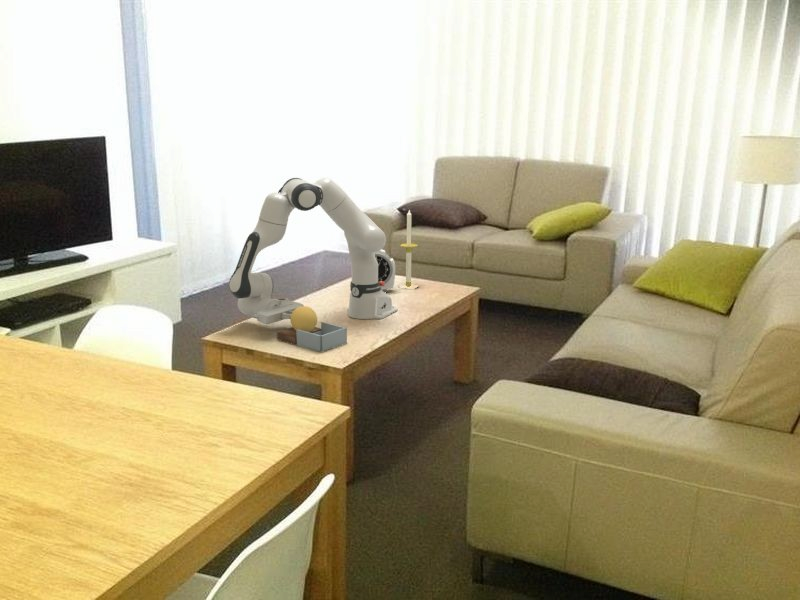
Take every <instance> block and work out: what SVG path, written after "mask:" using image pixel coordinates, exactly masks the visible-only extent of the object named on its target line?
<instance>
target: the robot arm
mask: <svg viewBox="0 0 800 600" xmlns="http://www.w3.org/2000/svg"><path fill="white" fill-rule="evenodd" d="M261 206H262V207H261V209H260V213H259V216H258V221H257V224H256V226H255V228H254V229H253V230H252V232H251V233H250V234H249V235H248V237H247V238H246V240H245V242H244V244H243V245H244V246H243V248H242V251H241V252H240V256H239V259H238V262H237V264H236V267H235V269H234V271H233V273H232V275H231V276H230V279H229V281H228V288H229V291H230V293H231V294H232V295H233V296H234V297H235V298H236V299H238V300H237V308H238V310H239V311H240V312H241V313H242V314H244V315H245V316H248V317H251V318H253V319H256V320H257V321H258V322H259V323H261V324H265V325H270V324H273V323H276V322H281V321H284V320H290V318H291V314H292V313H293V311H294V310H295V309H296V308H298V307H301V306H305V305H304V304H303V303H301V302H298V301H295V300H289V298H272V297H273V292H274V287H275V286H274V284H275V283H274V281H273V278H272V276H271V275H270V274H269V273H266V272H252V270H253V266H254V264H255V261H256V258H257V256H258V255H259V253H261V251H263V250H265V249H266V248H267V247H270V246H273V245H276V244H278V243H279V242H280V241H281V240H283V238H284V236H285V234H286V232H287V231H286V230H287V228H288V227H287V226H288V223H289V217H290V214H291V213H292V211H293V210H295V209H297V210H299V211H304V212H306V211H311V210H313V209H314V208H316V207H317V206H319V207H321V209H322V210H323V212H325V213H326V215H327V216H329V218H330V219H331V220H332V221H333V222H334V224H336V225H337V227H339V228H340V229H341V230H342V231H343V232H344V233H343V234H344V238H345V240H346V243H347V247H348V253H349V258H350V266H351V268H350V270H351V271H350V273H351V281H350V285H349V286H350V293H349V303H348V308H346V309H347V310H346V311H347V316H348V317H350V318H353V319H358V320H372V319H373V320H376V319H377V320H381V319H384V318H386V317H388V316H390V315H392V314H394V313H396V312H397V311H398V308H397V307H396V306H393V303H392V298H391V296H390V295H389V294H388V293H385V292H383V291H382V290H381V287H380V286H385V282H382V281H380V282H378V262H377V260H376V257H375V253H374V252H378V251H380V250H381V249H382V250H383V248H385V245H386V243H387V236H386V233H385V232H384V231H383V230H382V229H381V228H380V227H379V225H377V224H376V223H375V222H374V221H373V220H372V219H371V217H369V216H368V215H367V214H366V213H365V212H364V211H363V210H361V209H360V208H359V207H358V205H356V203H355V202H354V201H353V200H352V199H351V197H350V196H349V195H348V194H347V193H346V192H345V190H343V188H342V187H341V186H340V185H338V184H337V183H336V182H335V181H334V180H332V179H331V178H329V177H322V178H320V179H318V180H316V182H314V183H311V182H309V181H307V180H304V179H302V178H301V177H291V178H290V179H288V180H286V182H285V183H283V185H282V186H281V188H280V189H279V190H278V191H277V192H272V193H269V194H267V196H266V197H265V199H264V202H263V204H262V205H261ZM395 311H396V312H395ZM393 312H394V313H393ZM391 313H392V314H391Z"/></svg>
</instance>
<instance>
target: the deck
mask: <svg viewBox="0 0 800 600" xmlns="http://www.w3.org/2000/svg"><path fill="white" fill-rule="evenodd" d="M318 331H321V327H318V326H317V327H316V326H315V328H314V329H313V330H311V331H310V333H315V332H318ZM276 340H277V341H280V340H281V341H280V342H284V343H287V342H288V343H287V344H290V343H292V344H291V345H295V346H298V345H297V335H296V330H295V329H294V328H293V327H292V326H291V327H289V328H286V329H283V330H279V331H276Z"/></svg>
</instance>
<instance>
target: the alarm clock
mask: <svg viewBox="0 0 800 600" xmlns="http://www.w3.org/2000/svg"><path fill="white" fill-rule="evenodd" d="M374 253H375V257H376V260H377V262H378V282H380V281H382V282H385V286H380V287H381V290H382V291H383V292H387V293H388V290H390V289H394V284H395V280H396V279H395V278H396V263H395V260H394V258H393V257H392V258H391V257H390V256H389V254H388V253H386V250H385V249H383V248H382V249H381V250H380V251H378V252H374Z"/></svg>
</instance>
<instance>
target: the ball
mask: <svg viewBox="0 0 800 600" xmlns="http://www.w3.org/2000/svg"><path fill="white" fill-rule="evenodd" d="M289 320H290V321H289V322H290V325H291V327H293V328H294V329H295V330H297V329H299V330H302V331H306V332H310V331H311V330H313V329H314V328H315V327H316V326H317V322H318V316H317V313H316V312H315V310H314V309H312V308H311V307H310V306H305V305H304V306H301V307H298V308H296V309H295V310H294V311H293V313H292V314H291V318H290V319H289Z"/></svg>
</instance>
